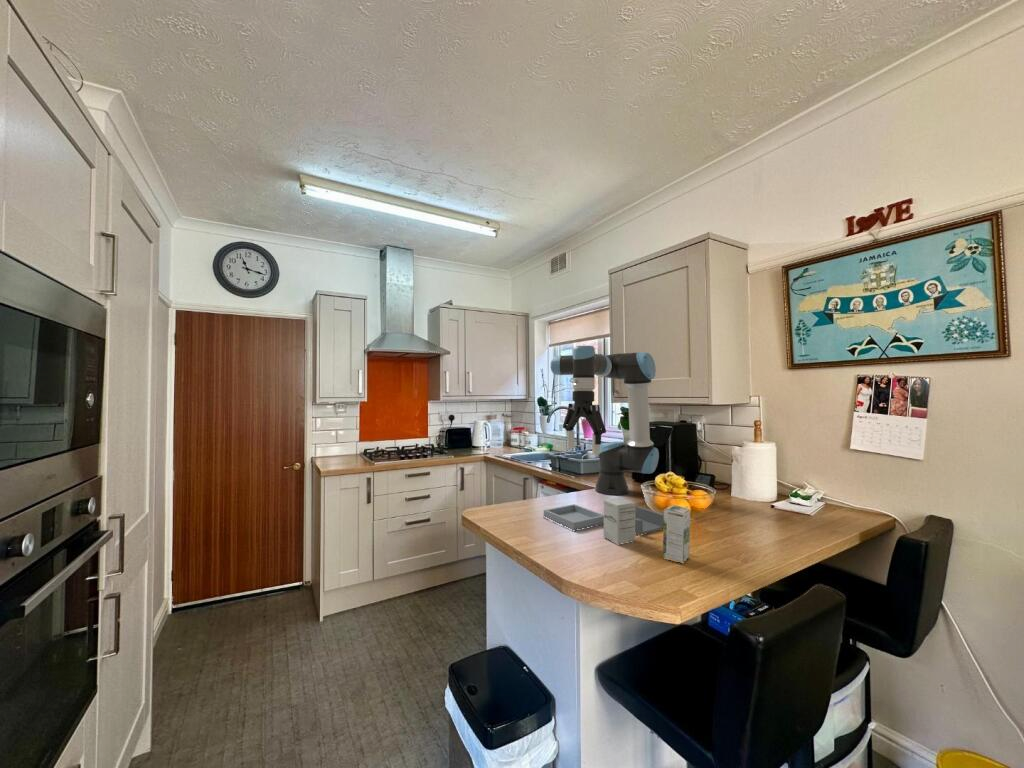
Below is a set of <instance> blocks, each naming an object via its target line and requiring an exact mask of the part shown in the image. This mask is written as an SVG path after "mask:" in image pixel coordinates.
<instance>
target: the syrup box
mask: <svg viewBox="0 0 1024 768" xmlns="http://www.w3.org/2000/svg"><path fill="white" fill-rule="evenodd" d="M663 514H664V529H663V530H662V531H663V533H662V535H663V536H662V537H663V538H662V539H663V540H662V558H663V557H664V558H668V559H671V560H675V561H678V562H684V561H685V560H686V559H687V558H688V557H689V558H690V536H691V534H690V533H691V509H690V508H688V507H684V506H680V505H669V506H668V507H666V508H664V510H663Z"/></svg>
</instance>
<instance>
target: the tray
mask: <svg viewBox="0 0 1024 768" xmlns="http://www.w3.org/2000/svg"><path fill="white" fill-rule="evenodd" d="M544 516H545V517H547V518H549V519H551V520H553V521H555V522H557V523H559V524H562V525H563V526H566V527H568V528H570V529H572V530H577V529H582V528H587V527H591V526H595V527H597V526H596V525H600V526H602V525H601V524H604V514H602V513H599V512H597V511H593V510H592V509H588V508H586V507H583V506H580V505H577V504H574V503H573V504H569V505H564V506H563V505H562V506H558V507H553V508H547V509H543V517H544ZM591 528H592V527H591ZM587 529H588V528H587Z"/></svg>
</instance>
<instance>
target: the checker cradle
mask: <svg viewBox="0 0 1024 768" xmlns="http://www.w3.org/2000/svg"><path fill="white" fill-rule="evenodd" d="M661 529H664V513H662V512H658V511H655V510H652V509H649V508H646V507H643V506H640V505H636V506H635V533H636V534H639V535H641V534H645V533H649V534H651V533H650V532H652V533H655V532H654V531H656V532H658V530H660V531H662V530H661ZM636 534H635V535H636ZM645 535H646V534H645Z"/></svg>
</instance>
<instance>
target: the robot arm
mask: <svg viewBox="0 0 1024 768" xmlns="http://www.w3.org/2000/svg"><path fill="white" fill-rule="evenodd" d="M550 371H551V373H552V374H553V375H556V376H572V389H573V391H572V401H573V402H574V403H568V408H567V411H566V415H565V418H564V421H563V424H562V428H563V429H565V431H566V450H574V449H575V429H574V428H575V427H576V425H577V424H578V421H579V419H580V418H584V419H585V420H587V422H588V424H589V425H590V427H591V430H592V432H593V433H592V437H591V438H592V440H591V441H592V444H591V446H592V447H591V448H592V449H591V450H592V452H591V453H592V455H599V456H598V459H599V460H598V461H599V462H598V463H599V467H598V468H599V471H598V473H599V475H598V477H597V481H596V484H595V492H597V493H599V494H603V495H609V496H620V495H621V496H623V495H626V494H629V486H628V482H627V479H626V472H630V473H631V472H632V473H641V474H647V475H648V474H653V473H654V472H655V471H656V469H657V467H658V464H659V459H660V452H659V449H658V448H657V447H655V446H654V445H655V443H654V442H653V441H652V440H651V438H650V437H651V435H650V410H649V409H650V406H649V385H650V384H651V383H652V380H653V379H654V378H656V377H655V376H656V372H657V371H656V363H655V360H654V358H653V356H652V354H650V353H649V352H640V351H639V352H626V353H625V352H624V353H623V352H622V353H621V352H619V353H613V354H612V353H611V354H607V355H606V354H605V355H604V354H602V353H600V354H599V353H596V349H595V347H594V346H593V345H577V346H574V347H573V352H572V354H571V355H569V354H568V355H555V356H553V357H552V358H551V361H550ZM595 376H597V377H599V378H605V379H606V378H608V379H613V380H614V379H615V380H623V384H624V385H625V386H626V387H627V403H628V404H627V405H628V425H629V426H628V427H629V440H628V441H627V442H626V443H625V441H609V442H603V443H602V434H606V433H607V429H606V425H605V423H604V420H603V417H602V414H601V411H600V410H601V408H600V405H599V404H593V402H595V391H593V390H595V387H596V386H595V384H596V383H595V378H596V377H595Z"/></svg>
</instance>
